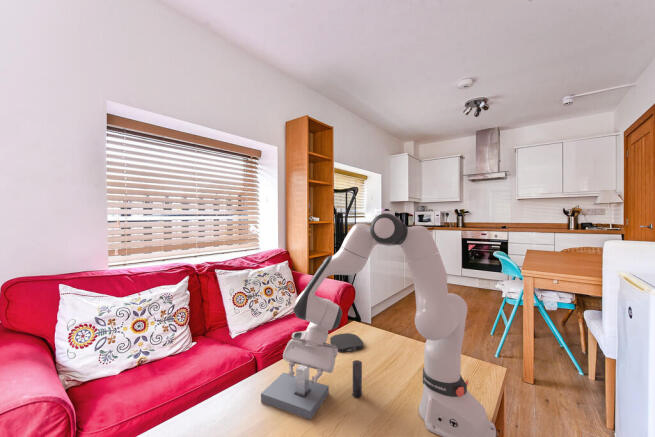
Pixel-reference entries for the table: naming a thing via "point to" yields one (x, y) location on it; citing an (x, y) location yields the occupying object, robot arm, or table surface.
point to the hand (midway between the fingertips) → (301, 379)
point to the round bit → (357, 379)
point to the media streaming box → (346, 342)
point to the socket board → (294, 396)
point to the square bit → (302, 380)
